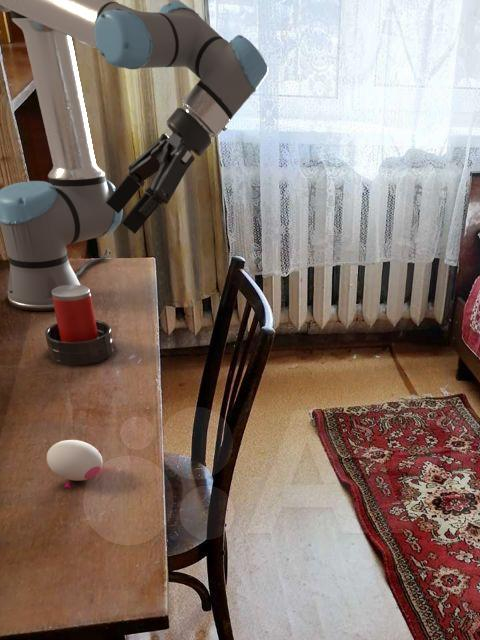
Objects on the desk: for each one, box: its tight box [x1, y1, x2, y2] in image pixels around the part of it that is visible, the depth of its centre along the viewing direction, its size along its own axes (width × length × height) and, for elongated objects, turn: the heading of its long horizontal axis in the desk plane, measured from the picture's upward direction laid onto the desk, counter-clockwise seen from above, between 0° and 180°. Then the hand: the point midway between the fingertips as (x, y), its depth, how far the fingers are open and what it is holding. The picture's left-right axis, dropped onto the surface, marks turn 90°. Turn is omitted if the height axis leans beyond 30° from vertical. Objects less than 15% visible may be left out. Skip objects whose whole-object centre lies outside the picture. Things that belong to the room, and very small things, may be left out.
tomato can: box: [52, 284, 98, 342], centre depth 123 cm, size 7×7×12 cm
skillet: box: [44, 319, 115, 367], centre depth 125 cm, size 11×11×4 cm
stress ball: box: [46, 439, 104, 489], centre depth 93 cm, size 8×8×7 cm
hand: (119, 217), depth 117 cm, fingers open, 13 cm apart
